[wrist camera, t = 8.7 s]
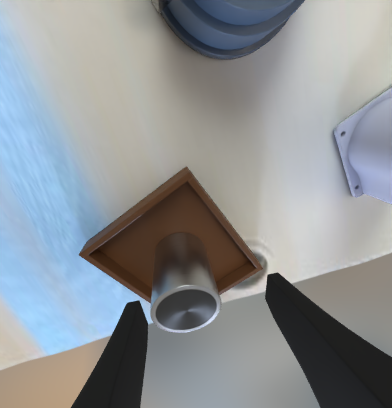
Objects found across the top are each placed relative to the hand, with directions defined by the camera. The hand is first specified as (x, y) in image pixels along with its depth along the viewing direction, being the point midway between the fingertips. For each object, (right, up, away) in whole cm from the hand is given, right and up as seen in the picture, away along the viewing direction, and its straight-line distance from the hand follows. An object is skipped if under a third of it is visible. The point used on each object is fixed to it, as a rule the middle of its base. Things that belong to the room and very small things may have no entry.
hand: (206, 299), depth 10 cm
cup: (-2, 0, +11) cm, 11 cm away
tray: (-2, 0, +11) cm, 12 cm away
